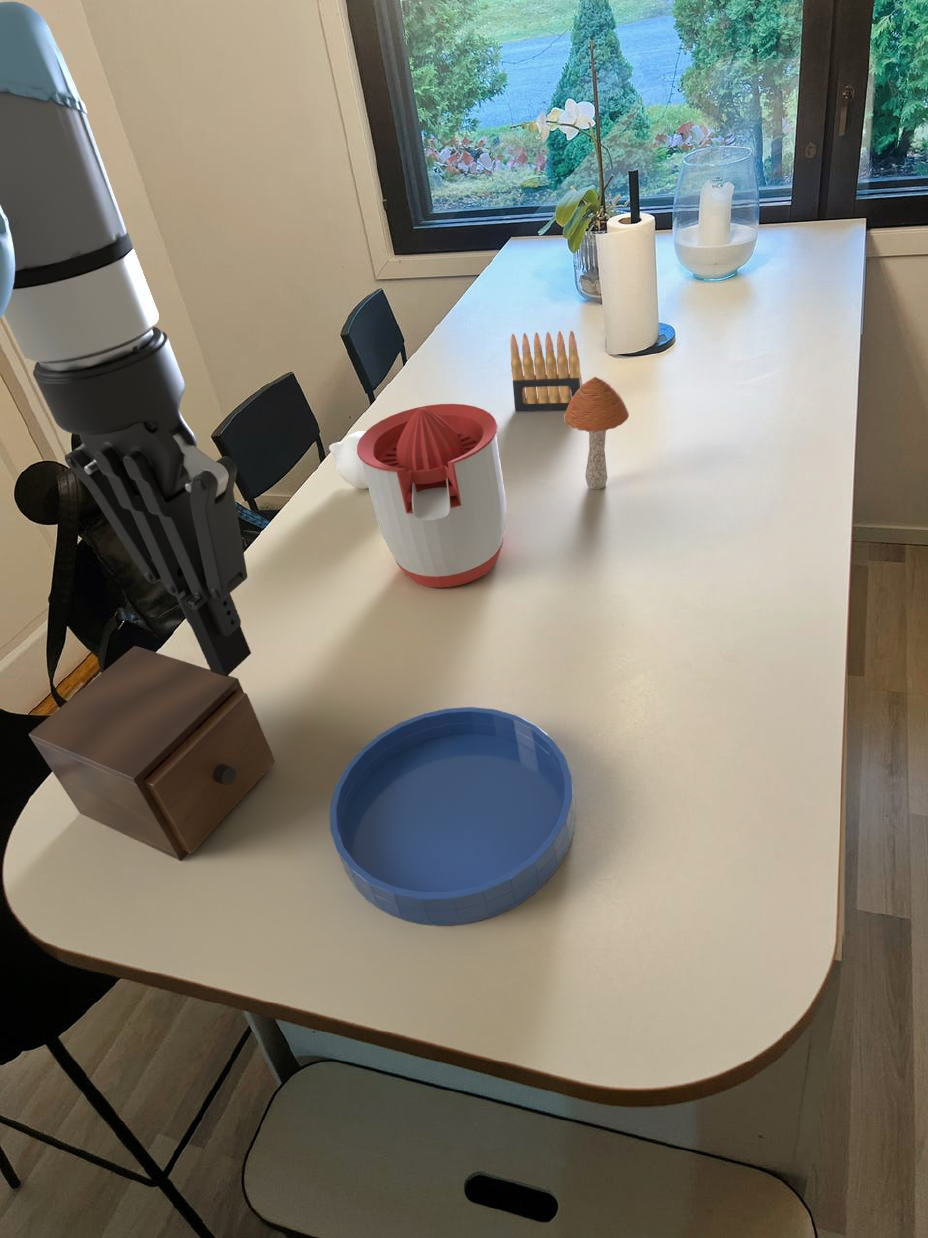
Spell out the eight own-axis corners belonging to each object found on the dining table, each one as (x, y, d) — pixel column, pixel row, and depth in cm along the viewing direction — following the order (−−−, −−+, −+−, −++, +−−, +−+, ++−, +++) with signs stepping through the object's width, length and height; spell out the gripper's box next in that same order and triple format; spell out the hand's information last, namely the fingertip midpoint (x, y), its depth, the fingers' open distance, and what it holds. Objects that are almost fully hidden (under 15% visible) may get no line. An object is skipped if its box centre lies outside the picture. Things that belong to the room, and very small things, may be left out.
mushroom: (644, 485, 112) (641, 375, 103) (594, 508, 110) (586, 397, 101) (606, 464, 118) (600, 358, 109) (558, 486, 116) (547, 378, 107)
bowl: (505, 966, 63) (498, 939, 61) (292, 872, 73) (280, 845, 70) (612, 770, 76) (610, 742, 74) (420, 712, 85) (413, 685, 83)
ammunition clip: (585, 404, 134) (579, 327, 127) (583, 409, 133) (576, 332, 125) (517, 406, 137) (508, 331, 130) (514, 411, 136) (505, 336, 129)
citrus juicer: (383, 618, 99) (341, 460, 86) (391, 536, 112) (356, 390, 100) (520, 599, 97) (497, 437, 85) (512, 519, 111) (490, 369, 99)
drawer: (285, 765, 81) (257, 696, 76) (201, 858, 74) (163, 790, 69) (182, 727, 88) (149, 661, 83) (96, 810, 81) (54, 743, 75)
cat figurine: (413, 416, 117) (329, 419, 120) (404, 487, 114) (318, 488, 117) (429, 449, 126) (350, 451, 128) (421, 516, 122) (340, 517, 125)
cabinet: (272, 760, 83) (238, 678, 77) (180, 861, 75) (133, 779, 69) (174, 723, 90) (134, 645, 84) (79, 813, 82) (27, 734, 76)
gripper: (226, 322, 48) (333, 650, 62) (74, 315, 54) (202, 614, 68) (125, 379, 43) (265, 720, 57) (-30, 364, 49) (132, 674, 63)
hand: (231, 662), depth 63 cm, fingers closed
